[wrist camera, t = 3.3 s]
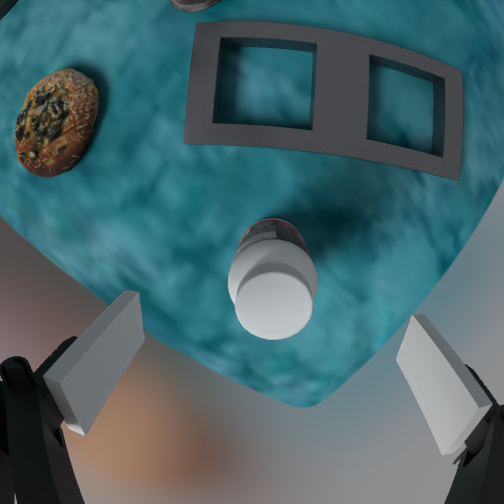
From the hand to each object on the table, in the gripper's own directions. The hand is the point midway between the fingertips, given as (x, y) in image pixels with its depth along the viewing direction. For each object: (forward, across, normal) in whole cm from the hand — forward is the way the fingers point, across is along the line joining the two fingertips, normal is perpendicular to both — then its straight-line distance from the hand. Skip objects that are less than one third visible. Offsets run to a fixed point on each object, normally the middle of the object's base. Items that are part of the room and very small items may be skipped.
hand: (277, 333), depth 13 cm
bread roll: (+12, -22, +12) cm, 27 cm away
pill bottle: (+12, 0, 0) cm, 12 cm away
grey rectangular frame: (+11, +4, +13) cm, 18 cm away
